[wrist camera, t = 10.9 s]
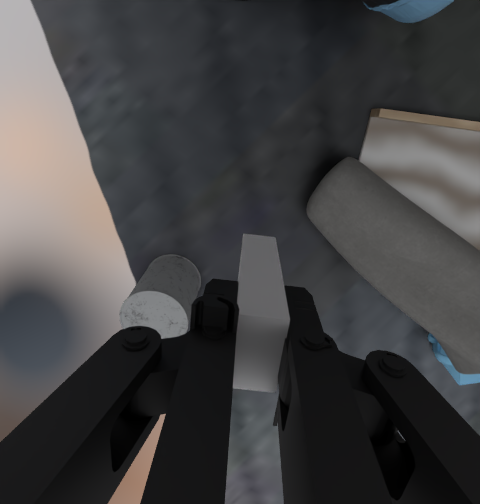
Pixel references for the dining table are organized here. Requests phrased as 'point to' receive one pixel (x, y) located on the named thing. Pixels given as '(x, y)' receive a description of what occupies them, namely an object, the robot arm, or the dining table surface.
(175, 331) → the grey cylinder
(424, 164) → the tray
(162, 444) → the robot arm
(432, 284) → the vase
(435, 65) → the dining table surface
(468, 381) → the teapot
